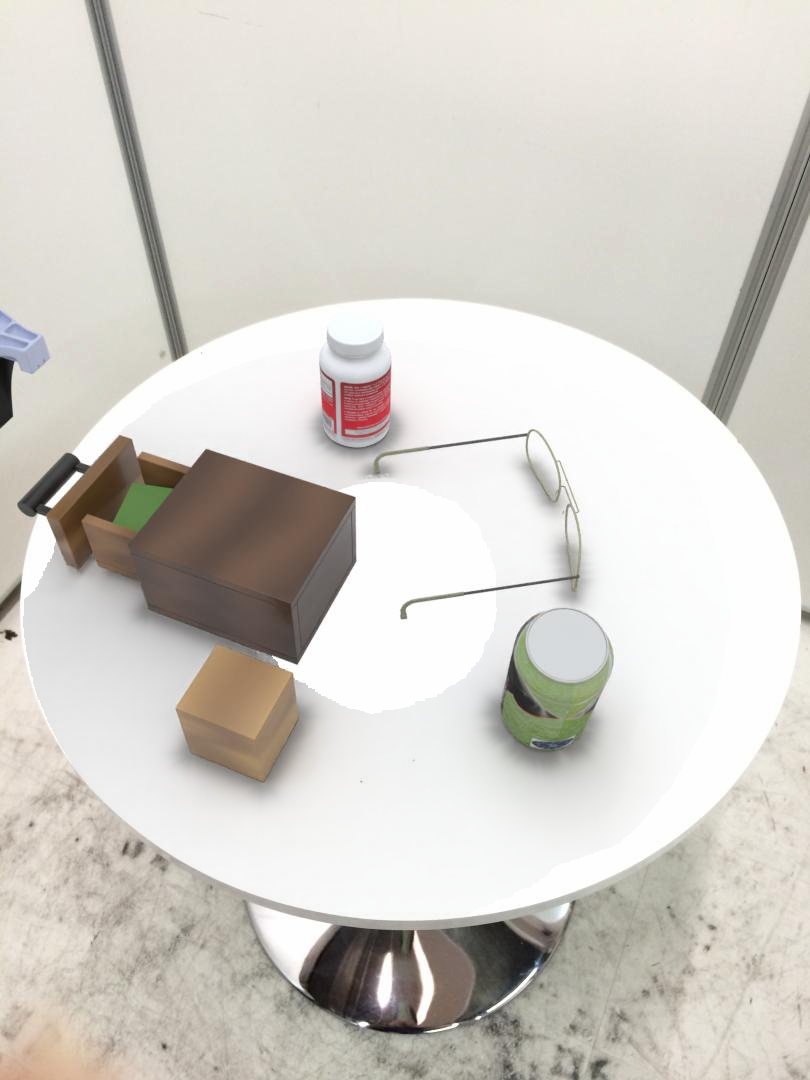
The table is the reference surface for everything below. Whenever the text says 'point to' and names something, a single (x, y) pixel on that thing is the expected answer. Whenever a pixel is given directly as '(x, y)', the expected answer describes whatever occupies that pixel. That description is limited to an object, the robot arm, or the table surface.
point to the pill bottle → (355, 380)
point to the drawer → (98, 503)
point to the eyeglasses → (377, 469)
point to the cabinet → (247, 554)
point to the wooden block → (239, 712)
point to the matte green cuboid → (140, 505)
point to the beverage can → (555, 677)
